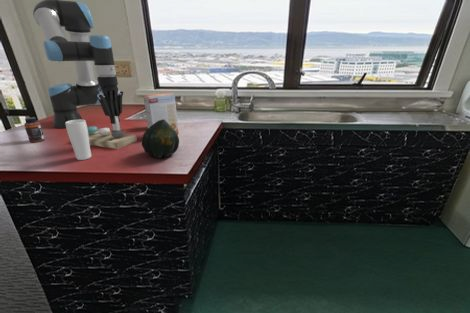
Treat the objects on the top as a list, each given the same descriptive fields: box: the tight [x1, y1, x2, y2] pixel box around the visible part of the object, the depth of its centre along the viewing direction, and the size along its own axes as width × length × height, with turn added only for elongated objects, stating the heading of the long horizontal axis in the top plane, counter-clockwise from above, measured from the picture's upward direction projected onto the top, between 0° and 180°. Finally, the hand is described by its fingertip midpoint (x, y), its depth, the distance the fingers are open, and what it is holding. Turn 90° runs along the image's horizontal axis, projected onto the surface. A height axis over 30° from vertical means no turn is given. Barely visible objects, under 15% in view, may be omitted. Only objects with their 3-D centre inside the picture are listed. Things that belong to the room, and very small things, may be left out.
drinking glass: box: [65, 118, 92, 161], centre depth 97 cm, size 7×7×15 cm
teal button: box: [87, 125, 99, 133], centre depth 119 cm, size 5×5×2 cm
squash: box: [141, 119, 180, 159], centre depth 101 cm, size 14×15×15 cm
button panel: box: [88, 131, 138, 150], centre depth 118 cm, size 26×12×3 cm, turn 69°
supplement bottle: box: [23, 116, 46, 143], centre depth 117 cm, size 6×6×11 cm
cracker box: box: [143, 92, 179, 135], centre depth 124 cm, size 14×6×21 cm, turn 135°
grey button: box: [110, 128, 125, 137], centre depth 114 cm, size 5×5×2 cm
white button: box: [97, 127, 111, 135], centre depth 117 cm, size 5×5×2 cm
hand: (116, 130), depth 113 cm, fingers closed
